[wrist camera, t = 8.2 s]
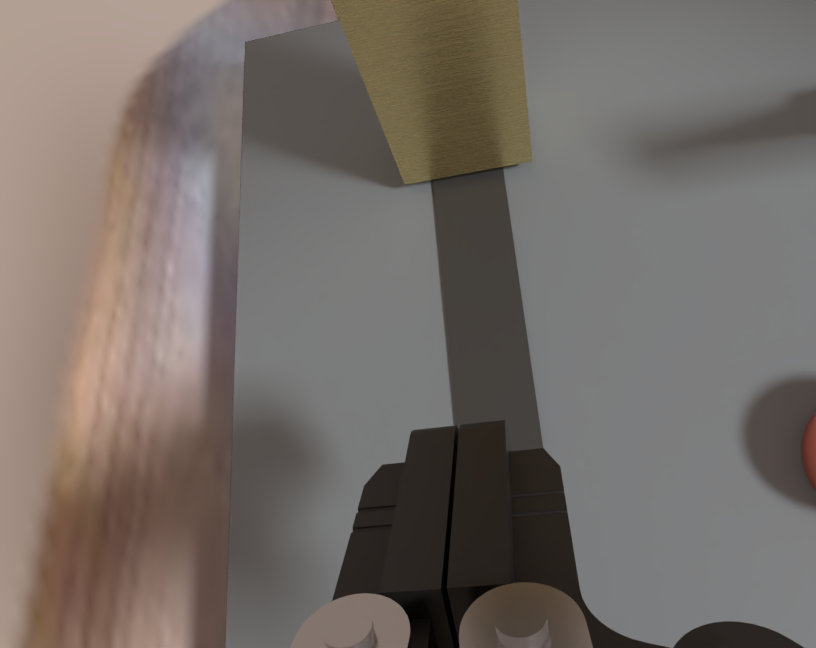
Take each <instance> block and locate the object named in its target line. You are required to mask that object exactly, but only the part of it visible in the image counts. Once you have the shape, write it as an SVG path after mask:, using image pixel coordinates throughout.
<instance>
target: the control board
mask: <svg viewBox="0 0 816 648" xmlns="http://www.w3.org/2000/svg"><path fill="white" fill-rule="evenodd" d="M518 9H519V20H520V31H521V42H522V53H523V64H524V74H525V85H526V96H527V107H528V118H529V129H530V140H531V151H532V162H526V163H521V164H515V165H510V166H505V167H499V168H494V169H488V170H483V171H477V172H472V173H466V174H461V175H455V176H450V177H444V178H439V179H433V180H428V181H422V182H417V183H412V184H406V185H405V184H404V182H403V179H402V177H401V174H400V172H399V169H398V167H397V164H396V162H395V159H394V157H393V154H392V152H391V149H390V147H389V144H388V142H387V139H386V137H385V134H384V132H383V129H382V127H381V124H380V121H379V119H378V116H377V114H376V111H375V109H374V106H373V104H372V101H371V99H370V96H369V94H368V91H367V89H366V86H365V84H364V81H363V79H362V76H361V74H360V71H359V69H358V66H357V64H356V61H355V59H354V56H353V54H352V51H351V49H350V46H349V44H348V41H347V39H346V36H345V34H344V31H343V29H342V26H341V24H340V21H335V22H331V23H326V24H322V25H318V26H313V27H309V28H304V29H300V30H296V31H291V32H287V33H283V34H278V35H274V36H269V37H265V38H261V39H256V40H252V41H248V42H245V61H244V91H243V122H242V152H241V183H240V214H239V244H238V275H237V305H236V336H235V367H234V397H233V428H232V458H231V489H230V520H229V550H228V581H227V611H226V642H225V648H290V647H291V645H292V642H293V640H294V638H295V636H296V634H297V632H298V630H299V628H300V627H301V626H302V624H303V623H304V622H305V621H306V620H307V619H308V618H309V617H310V616H311V615H312V614H313V613H314V612H315V611H317V610H318V609H319V608H321V607H322V606H324V605H326V604H327V603H329V602H332V599H333V595H334V592H335V588H336V585H337V581H338V577H339V574H340V570H341V567H342V563H343V559H344V556H345V552H346V549H347V545H348V542H349V538H350V534H351V533H352V532H353V528H352V527H353V524H354V520H355V516H356V513H358V506H359V502H360V498H361V495H362V491H363V488H364V485H365V484H366V483H367V482H368V480H369V479H370V478H371V477H372V476H373V475H374V474H375V472H376V471H377V470H378V469H379V468H380V467H381V465H383V464H393V463H403V462H405V459H406V453H407V448H408V443H409V438H410V434H411V431H412V430H418V429H428V428H437V427H446V426H455V425H457V426H458V428H459V427H460V425H462V424H472V423H481V422H490V421H499V420H506V423H507V427H508V433H509V439H510V445H511V451H518V450H528V449H538V448H544V449H545V450H546V451H547V452H548V454H549V455H550V456H551V457H552V458H553V459H554V460H555V461H556V462H557V463H558V464H559V465H560V467H561V474H562V480H563V486H564V493H565V499H566V505H567V512H568V518H569V524H570V530H571V536H572V543H573V549H574V555H575V562H576V568H577V574H578V580H579V587H580V591H581V595H582V598H583V600H584V602H585V604H586V606H587V607H588V609H589V610H590V611H591V613H592V614H593V615H594V616H595V617H596V618H597V619H598V620H599V621H600V622H602V623H603V624H604V625H606V626H607V627H608V628H610V629H612V630H614V631H615V632H617V633H619V634H621V635H624V636H626V637H629V638H631V639H635V640H638V641H642V642H646V643H651V644H655V645H660V646H665V647H669V648H673V647H674V646H675V644H676V643H677V641H678V640H679V639H680V638H681V637H683V636H684V635H685V634H686V633H688V632H689V631H691V630H692V629H695V628H697V627H700V626H702V625H705V624H710V623H714V622H723V621H734V622H744V623H751V624H755V625H759V626H762V627H766V628H768V629H771V630H773V631H776V632H778V633H780V634H782V635H784V636H786V637H787V638H789V639H791V640H793V641H794V642H796V643H798V644H799V645H801V646H803V647H804V648H816V0H518Z"/></svg>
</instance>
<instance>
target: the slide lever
mask: <svg viewBox="0 0 816 648" xmlns="http://www.w3.org/2000/svg"><path fill="white" fill-rule="evenodd" d="M331 1H332V4H333V6H334V9H335V11H336V14H337V16H338V19H339V21H340V24H341V26H342V29H343V31H344V34H345V36H346V39H347V41H348V44H349V46H350V49H351V51H352V54H353V56H354V59H355V61H356V64H357V66H358V69H359V71H360V74H361V76H362V79H363V81H364V84H365V86H366V89H367V91H368V94H369V96H370V99H371V101H372V104H373V106H374V109H375V111H376V114H377V116H378V119H379V121H380V124H381V127H382V129H383V132H384V134H385V137H386V139H387V142H388V144H389V147H390V149H391V152H392V154H393V157H394V159H395V162H396V164H397V167H398V169H399V172H400V174H401V177H402V179H403V182H404V184H405V185H406V184H412V183H417V182H422V181H428V180H433V179H439V178H444V177H450V176H455V175H461V174H466V173H472V172H477V171H483V170H488V169H494V168H499V167H505V166H510V165H515V164H521V163H526V162H532V151H531V140H530V129H529V118H528V107H527V96H526V85H525V74H524V64H523V53H522V42H521V31H520V20H519V9H518V0H331Z"/></svg>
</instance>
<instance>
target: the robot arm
mask: <svg viewBox="0 0 816 648" xmlns="http://www.w3.org/2000/svg"><path fill="white" fill-rule="evenodd" d="M352 528H353V532H352V533H351V534H350V538H349V542H348V545H347V549H346V552H345V556H344V559H343V563H342V567H341V570H340V574H339V577H338V581H337V585H336V588H335V592H334V595H333V599H332V602H329V603H327V604H326V605H324V606H322V607H321V608H319V609H318V610H317V611H315V612H314V613H313V614H312V615H311V616H310V617H309V618H308V619H307V620H306V621H305V622H304V623H303V624H302V626H301V627H300V628H299V630H298V632H297V634H296V636H295V638H294V640H293V642H292V645H291V647H290V648H669V647H665V646H660V645H655V644H651V643H646V642H642V641H638V640H635V639H631V638H629V637H626V636H624V635H621V634H619V633H617V632H615V631H614V630H612V629H610V628H608V627H607V626H606V625H604V624H603V623H602V622H600V621H599V620H598V619H597V618H596V617H595V616H594V615H593V614H592V613H591V611H590V610H589V609H588V607H587V606H586V604H585V602H584V600H583V598H582V595H581V591H580V587H579V580H578V574H577V568H576V562H575V555H574V549H573V543H572V536H571V530H570V524H569V518H568V512H567V505H566V499H565V493H564V486H563V480H562V474H561V467H560V465H559V464H558V463H557V462H556V461H555V460H554V459H553V458H552V457H551V456H550V455H549V454H548V452H547V451H546V450H545V449H544V448H538V449H528V450H518V451H511V445H510V439H509V433H508V427H507V423H506V420H499V421H490V422H481V423H472V424H462V425H460V427H459V428H458V426H457V425H455V426H446V427H437V428H428V429H418V430H412V431H411V434H410V438H409V443H408V448H407V453H406V459H405V462H403V463H393V464H383V465H381V467H380V468H379V469H378V470H377V471H376V472H375V474H374V475H373V476H372V477H371V478H370V479H369V480H368V482H367V483H366V484H365V485H364V488H363V491H362V495H361V498H360V502H359V506H358V513H356V516H355V520H354V524H353V527H352ZM673 648H804V647H803V646H801V645H799V644H798V643H796V642H794V641H793V640H791V639H789V638H787V637H786V636H784V635H782V634H780V633H778V632H776V631H773V630H771V629H768V628H766V627H762V626H759V625H755V624H751V623H744V622H734V621H723V622H714V623H710V624H705V625H702V626H700V627H697V628H695V629H692V630H691V631H689V632H688V633H686V634H685V635H684V636H683V637H681V638H680V639H679V640H678V641H677V643H676V644H675V646H674V647H673Z"/></svg>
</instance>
